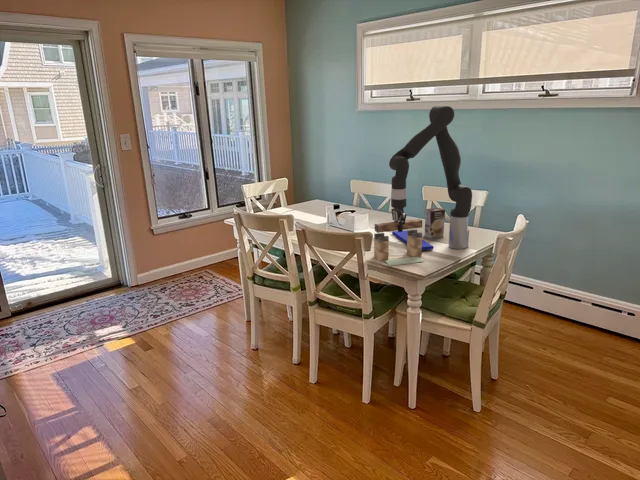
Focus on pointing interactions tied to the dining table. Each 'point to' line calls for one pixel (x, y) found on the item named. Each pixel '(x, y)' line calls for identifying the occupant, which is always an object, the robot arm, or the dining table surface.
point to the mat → (403, 261)
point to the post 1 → (381, 246)
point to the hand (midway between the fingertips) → (398, 230)
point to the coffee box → (434, 223)
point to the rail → (394, 225)
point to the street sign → (403, 237)
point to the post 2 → (414, 243)
